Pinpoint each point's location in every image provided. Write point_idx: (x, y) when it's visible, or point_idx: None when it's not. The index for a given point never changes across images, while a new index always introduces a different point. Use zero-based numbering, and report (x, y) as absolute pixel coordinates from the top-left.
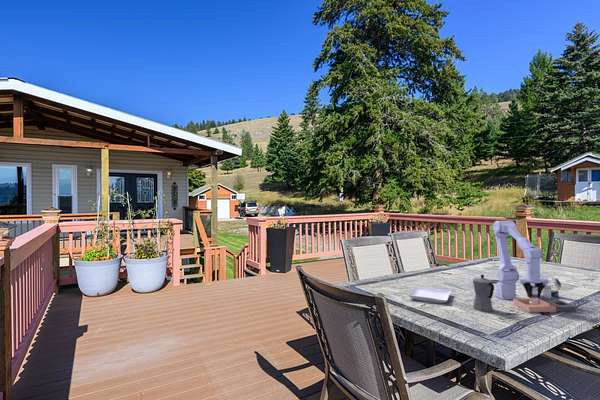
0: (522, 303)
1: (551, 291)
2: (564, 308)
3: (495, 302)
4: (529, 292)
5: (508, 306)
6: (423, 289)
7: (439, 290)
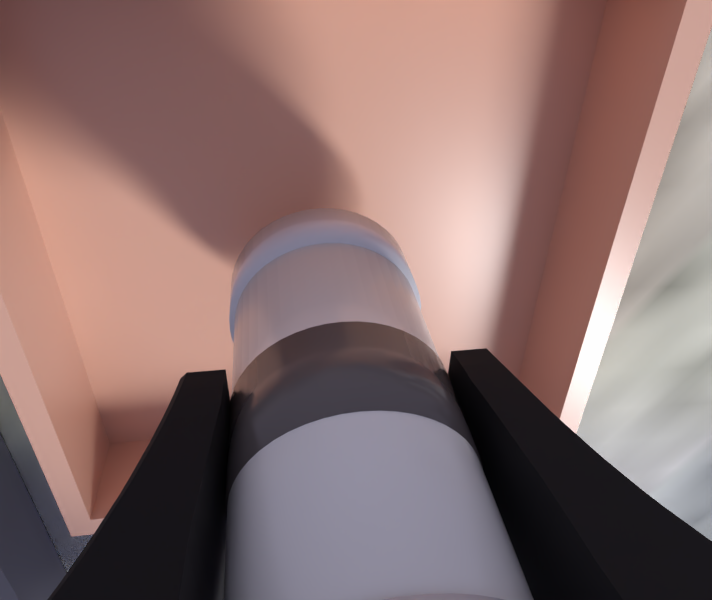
0: (640, 236)
1: None
2: None
3: (691, 459)
4: (611, 474)
5: (676, 318)
6: None
7: None
